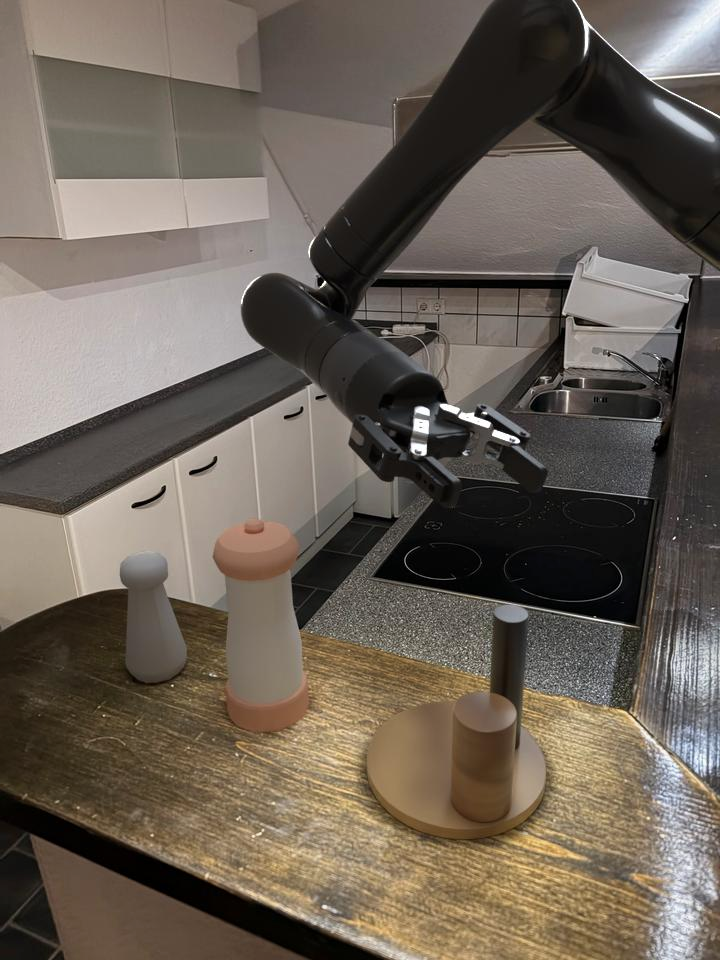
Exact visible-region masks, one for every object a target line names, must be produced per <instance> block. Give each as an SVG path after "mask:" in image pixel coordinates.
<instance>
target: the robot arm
mask: <svg viewBox="0 0 720 960" xmlns="http://www.w3.org/2000/svg"><path fill="white" fill-rule="evenodd" d="M528 121H529V122H531V123H533V124H535V125H536V126H539V127H540V128H542V129H544V130H546V131H547V132H549V133H550V134H553V135H554V136H555V137H558V138H559V139H561V140H563V141H564V142H565V143H567V144H569V145H570V146H572V147H573V148H575V149H577V150H578V151H580V152H582V153H583V154H584V155H586V156H587V157H589V159H591V160H592V161H593V162H595V163H596V164H597V165H598V166H599V167H601V168H602V169H603V170H604V171H605V172H606V173H607V174H608V175H609V176H610V177H611V179H612V180H613V181H615V183H616V184H617V185H618V186H619V187H620V188H621V189H622V190H623V191H624V192H625V193H626V194H627V196H629V198H630V199H631V200H632V201H633V202H634V203H635V204H636V205H637V206H638V207H639V208H640V209H641V210H642V211H643V212H645V214H647V215H648V216H649V217H650V218H651V219H652V220H653V221H654V222H655V223H656V224H657V225H658V226H660V227H661V228H662V229H663V230H664V231H665V232H666V233H668V234H669V235H670V236H671V237H672V238H673V239H675V240H676V241H677V242H679V243H681V244H682V245H683V246H684V247H685V248H687V249H688V250H689V251H690V252H692V253H693V254H695V255H696V256H697V257H699V259H702V260H703V261H704V262H705V263H707V264H708V265H709V266H711V267H712V268H713V269H715V270H716V271H718V272H720V116H719V115H718V114H716V113H714V112H712V111H710V110H708V109H706V108H704V107H702V106H700V105H698V104H697V103H695V102H692V101H690V100H688V99H686V98H684V97H682V96H680V95H678V94H676V93H674V92H672V91H670V90H668V89H666V88H664V87H663V86H661V85H659V84H658V83H656V82H655V81H653V80H651V79H650V78H649V77H647V76H646V75H645V74H643V72H641V71H640V70H639V69H637V67H635V66H634V65H633V64H631V62H629V60H627V59H626V58H625V57H624V56H623V55H621V53H620V52H619V51H617V50H616V49H615V48H614V47H613V46H612V45H611V44H610V43H609V42H608V41H607V40H605V39H604V38H603V36H601V35H600V34H599V33H598V32H597V31H596V29H595V28H593V26H592V25H591V24H590V23H589V22H588V21H587V20H586V19H585V17H584V15H583V12H582V11H581V9H580V7H579V6H578V4H577V2H576V1H575V0H492V1H491V2H490V3H489V4H488V5H487V7H486V8H485V9H484V11H483V12H482V13H481V16H480V17H479V20H478V21H477V23H476V24H475V26H474V28H473V29H472V31H471V33H470V34H469V36H468V38H467V39H466V41H465V42H464V44H463V46H462V47H461V49H460V51H459V52H458V54H457V56H456V57H455V59H454V60H453V62H452V64H451V65H450V67H449V68H448V70H447V72H446V73H445V75H444V77H443V78H442V79H441V82H440V83H439V85H437V88H436V89H435V90H434V92H433V94H432V95H431V96H430V98H429V99H428V101H427V102H426V103H425V105H424V106H423V108H422V109H421V110H420V111H419V113H418V115H417V116H416V117H415V119H414V120H413V121H412V122H411V124H410V125H409V126H408V128H407V129H406V130H405V132H404V133H403V134H402V135H401V137H400V138H399V139H398V140H397V141H396V142H395V144H394V145H393V146H392V147H391V148H390V149H389V151H388V152H386V154H385V155H384V156H383V158H381V159H380V161H379V162H377V165H376V166H374V168H373V169H372V170H371V171H369V173H368V174H367V176H365V178H364V179H363V180H362V181H361V182H360V183H359V184H358V186H356V188H355V189H354V191H353V192H352V193H350V195H349V196H348V197H347V198H346V199H345V201H344V202H343V203H342V204H341V205H340V206H339V208H337V210H336V211H335V212H334V213H333V214H332V216H331V217H330V218H329V219H328V220H327V221H326V223H325V224H324V225H323V226H322V227H321V229H320V230H319V231H318V232H317V234H316V235H315V236H314V237H313V239H312V241H311V242H310V244H309V247H308V259H309V261H310V264H311V266H312V267H313V269H314V270H315V272H316V273H317V274H318V275H319V276H320V277H321V279H322V280H323V283H322V284H321V286H319V287H318V288H317V289H316V288H314V287H312V286H310V285H308V284H305V283H303V282H301V281H300V280H297V279H296V278H293V277H291V276H289V275H287V274H284V273H280V272H268V273H264V274H262V275H260V276H257V277H256V278H255V279H254V280H252V281H251V282H250V283H249V284H248V285H247V287H246V288H245V289H244V292H243V295H242V298H241V301H240V317H241V321H242V325H243V327H244V328H245V331H246V333H247V334H248V336H249V337H251V339H252V340H253V341H254V342H255V343H256V344H258V345H259V346H261V347H262V348H263V349H265V350H267V351H268V352H270V353H272V354H273V355H275V356H276V357H277V358H279V359H280V360H282V361H284V362H286V363H288V364H290V365H291V366H293V367H294V368H295V369H297V370H298V371H300V372H301V373H302V374H303V375H305V376H306V378H307V379H308V380H309V381H310V382H311V383H312V384H313V385H314V386H316V388H318V389H319V390H320V391H321V392H322V393H323V394H324V395H325V396H326V397H327V398H328V400H329V401H330V402H331V403H332V405H333V406H334V407H335V408H336V409H337V411H339V413H341V414H342V416H344V417H345V418H346V419H347V420H348V421H349V422H350V423H351V429H350V432H349V433H350V434H349V438H348V442H347V445H348V446H349V448H350V449H351V450H352V451H353V452H354V453H355V455H357V456H358V457H359V458H360V460H361V461H362V462H363V463H364V464H365V465H366V466H367V467H368V469H370V471H372V472H373V474H374V475H375V476H376V477H377V478H378V479H379V480H380V481H382V482H384V483H393V482H394V481H395V478H402V480H403V481H404V482H405V483H407V484H411V485H415V486H417V487H418V488H420V490H421V491H423V492H424V494H425V495H427V496H428V497H429V498H430V499H431V500H433V501H435V502H436V503H437V504H439V505H440V506H441V507H442V508H444V509H450V508H455V507H456V506H457V504H458V502H459V499H460V496H461V493H462V491H463V483H462V482H461V480H460V479H459V478H458V477H457V476H456V475H455V474H453V473H452V472H451V471H450V470H449V469H447V468H446V467H445V466H444V465H442V463H440V462H439V460H442V459H445V458H451V459H454V458H456V459H459V460H461V461H464V462H467V463H469V464H472V465H479V464H481V463H486V464H489V465H490V466H491V465H492V466H494V467H497V468H499V469H502V472H504V473H505V474H506V475H507V476H509V477H510V478H511V479H513V480H514V481H515V482H516V483H517V484H519V485H520V486H521V487H522V488H524V489H525V490H526V491H527V492H529V493H531V494H534V493H540V492H541V491H542V490H543V488H544V485H545V482H546V480H547V477H548V474H549V471H548V468H547V467H546V466H545V465H544V464H543V463H541V462H540V461H539V460H537V459H536V458H535V457H534V456H532V455H531V454H529V453H528V452H527V451H526V448H527V446H528V443H529V441H530V438H531V436H532V435H531V433H529V432H528V431H526V430H525V429H524V428H522V427H520V426H519V425H518V424H516V423H515V422H513V421H511V420H510V419H509V418H508V417H506V416H504V415H503V414H501V413H499V412H498V411H496V410H495V409H494V408H492V407H491V406H490V405H487V404H486V403H477V404H476V406H475V409H474V411H473V412H469V413H467V412H465V411H464V410H462V409H460V408H459V407H456V406H453V405H451V404H450V403H449V402H448V400H447V397H446V393H445V391H444V387H443V385H442V383H441V381H440V380H439V379H438V377H437V376H436V375H434V374H433V373H432V372H430V371H429V370H428V369H426V368H425V367H424V366H423V365H421V364H420V363H418V362H417V361H415V360H414V359H413V358H412V357H410V356H409V355H407V354H406V353H405V352H404V351H402V350H401V349H399V348H398V347H397V346H395V345H393V344H392V343H391V342H389V341H387V340H385V339H384V338H381V337H379V336H377V335H375V334H374V333H373V332H372V331H370V330H369V329H368V328H366V327H365V326H363V325H362V324H360V323H359V322H358V321H356V320H355V319H353V318H354V317H355V314H356V313H357V311H358V309H359V308H360V305H361V304H362V302H363V300H364V298H365V296H366V294H367V292H368V290H369V289H370V288H371V286H372V285H373V284H374V283H375V282H376V281H377V280H378V279H379V278H380V277H381V276H382V274H384V272H385V271H386V270H387V269H388V268H389V267H390V266H391V265H392V264H393V263H394V262H395V261H396V260H397V259H398V258H399V257H400V255H401V254H402V253H403V252H404V251H405V250H406V249H407V247H409V245H410V244H411V243H412V242H413V241H414V240H415V239H416V237H417V236H418V235H419V234H420V233H421V231H422V230H423V229H424V228H425V226H426V225H427V224H428V222H429V221H430V220H431V218H432V217H433V216H434V215H435V213H436V212H437V210H438V209H439V208H440V207H441V205H442V204H443V203H444V201H445V200H446V199H447V197H448V196H449V195H450V194H451V193H452V191H453V190H454V189H455V188H456V186H457V185H458V184H459V183H460V182H461V181H462V180H463V178H465V176H466V175H467V174H468V173H469V172H470V171H471V170H472V169H473V168H474V167H475V166H476V165H477V164H478V163H479V162H480V161H481V160H482V159H483V158H485V156H486V155H487V154H488V153H489V152H491V151H492V150H493V149H494V148H495V147H496V146H498V145H499V144H500V143H502V142H503V141H504V140H505V139H506V138H508V137H509V136H511V134H513V133H514V132H515V131H516V130H517V129H519V128H520V127H522V126H523V125H524V124H526V123H527V122H528ZM471 434H472V435H473V438H474V439H475V440H477V442H476V445H475V447H474V449H469V448H468V445H469V441H470V439H471ZM487 446H489V447H490V448H492V449H493V450H494V451H496V452H497V453H498V454H497V453H495V452H492V451H489V450H488V449H487Z"/></svg>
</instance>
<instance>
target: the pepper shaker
mask: <svg viewBox="0 0 720 960" xmlns="http://www.w3.org/2000/svg"><path fill="white" fill-rule="evenodd" d="M299 553H300V545H299V542H298V539H297V537H296V536H295V535H294V533H292V531H290V529H289V528H288V527H287V526H285V525H283V524H281V523H277V522H274V521H267V520H261V519H260V518H250V519H247V520H246V521H245V522H241V523H239V524H235V525H233V526H230V527H228V528H227V529H225V530H223V531H222V533H220V535H219V536H218V537H217V539H216V541H215V543H214V547H213V551H212V559H213V561H214V563H215V565H216V568H218V570H219V572H220V573H221V574H223V575H224V582H225V593H226V605H227V627H226V641H225V653H224V655H225V662H226V669H227V680H226V681H225V689H224V690H225V699H226V701H225V702H226V710H227V714H228V716H229V719H230V720H231V721H232V723H234V724H235V725H236V726H237V727H239V728H242V729H244V730H247V731H251V732H258V733H266V732H267V733H269V732H276V731H280V730H282V729H286V728H289V727H291V726H292V725H294V724H296V723H297V722H298V721H300V720H301V719H302V718H303V716H305V715H306V713H307V710H308V709H309V707H310V702H309V700H310V699H309V684H308V683H309V682H308V675H307V673H306V672H305V670H304V666H303V641H302V637H301V633H300V629H299V625H298V620H297V615H296V612H295V609H294V602H293V588H292V574H291V573H292V571H291V569H292V568H293V567H294V565H295V564H296V561H297V560H298V556H299Z"/></svg>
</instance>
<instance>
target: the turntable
mask: <svg viewBox="0 0 720 960" xmlns="http://www.w3.org/2000/svg"><path fill="white" fill-rule="evenodd" d="M492 615H493V616H492V634H491V635H492V636H491V655H490V656H491V657H490V674H489V675H490V677H489V691H483V690H481V691H472V692H468V693H465V694H463V695H462V696H460V697H459V698H457V700H455V701H437V702H429V703H428V702H427V703H423V704H419V705H415V706H412V707H409V708H406V709H404V710H402V711H399V712H398V713H396V714H395V715H393V716H392V717H390V718H388V719H387V720H386V721H385V722H384V723H382V725H380V727H379V728H378V729H377V730H376V731H375V732H374V734H373V736H372V737H371V739H370V742H369V744H368V748H367V751H366V775H367V781H368V784H369V788H370V789H371V792H372V794H373V796H374V797H375V799H376V800H377V802H378V803H379V804H380V805H381V806H382V808H384V809H385V811H386V812H387V813H388V814H390V815H391V816H392V817H393V818H395V819H396V820H397V821H399V822H401V823H403V824H404V825H406V826H407V827H409V828H412V829H414V830H416V831H418V832H422V833H424V834H428V835H429V836H434V837H438V838H442V839H452V840H477V839H485V838H489V837H493V836H497V835H500V834H502V833H506V832H508V831H510V830H512V829H514V828H516V827H518V826H519V825H521V824H522V823H523V822H525V821H526V820H527V819H528V818H530V817H531V816H532V814H533V813H534V812H535V811H536V810H537V808H538V807H539V805H540V803H541V802H542V800H543V798H544V793H545V791H546V782H547V763H546V759H545V755H544V753H543V751H542V749H541V747H540V745H539V743H538V742H537V740H536V738H535V737H533V735H532V734H531V733H530V731H528V730H527V728H525V727H524V726H523V725H522V719H523V705H524V689H525V674H526V663H527V662H526V661H527V648H528V647H527V646H528V631H529V618H530V617H529V616H530V615H529V612H528V610H526V608H524V607H522V606H521V605H515V604H501V605H499V606H496V607H495V608H494V610H493V614H492Z"/></svg>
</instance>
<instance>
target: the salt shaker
mask: <svg viewBox="0 0 720 960" xmlns="http://www.w3.org/2000/svg"><path fill="white" fill-rule="evenodd" d="M119 565H120V566H119V577H120V578H119V579H120V582H121V584H122V585H123V586H124V587H125V588H126V589H128V590H127V592H128V593H127V613H126V614H127V615H126V619H127V620H126V636H125V637H126V640H125V660H124V661H125V662H124V664H125V666H126V670H127V671H128V672H129V673H130V675H131V676H132V677H134V678H135V679H136V680H137V681H139V682H143V683H145V684H151V683H162V682H164V681H168V680H169V681H170V680H171V679H173V677H175V676H177V675H178V674H179V673H180V672H181V671H182V669H183V668H185V665H186V662H187V660H188V650H187V644H186V642H185V639H184V637H183V633H182V631H181V629H180V626H179V623H178V621H177V617H176V615H175V613H174V609H173V607H172V604H171V602H170V599H169V596H168V593H167V591H166V588H165V584H164V583H165V581H167V580H168V577H169V566H168V561H167V559H166V557H165V555H163V554H161V553H159V552H156V551H151V550H148V551H147V550H146V551H145V550H144V551H143V550H142V551H139V552H134V553H132V554H130V555H128V556H126V557H125V558H124V559H123V560H122V561H121V562H120V563H119Z"/></svg>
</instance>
